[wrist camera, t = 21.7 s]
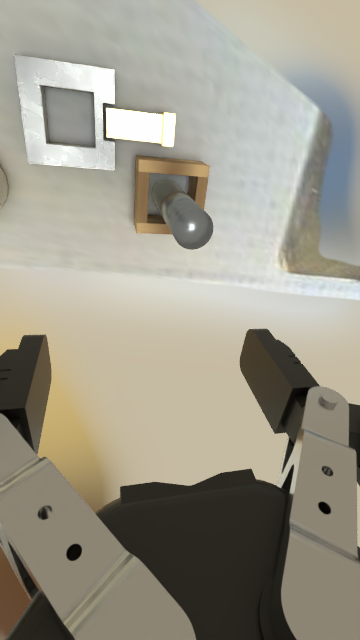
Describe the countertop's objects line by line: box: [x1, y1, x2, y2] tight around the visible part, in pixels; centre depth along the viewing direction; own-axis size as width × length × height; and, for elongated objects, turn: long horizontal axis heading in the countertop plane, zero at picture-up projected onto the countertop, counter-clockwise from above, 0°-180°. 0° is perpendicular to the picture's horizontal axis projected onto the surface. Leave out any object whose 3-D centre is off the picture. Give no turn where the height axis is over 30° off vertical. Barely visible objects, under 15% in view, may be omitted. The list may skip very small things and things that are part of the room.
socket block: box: [14, 54, 115, 171], centre depth 33 cm, size 9×9×2 cm
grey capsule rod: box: [152, 179, 213, 249], centre depth 34 cm, size 4×4×15 cm
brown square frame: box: [134, 155, 210, 234], centre depth 39 cm, size 8×8×4 cm
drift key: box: [106, 108, 176, 147], centre depth 34 cm, size 7×3×4 cm, turn 84°
